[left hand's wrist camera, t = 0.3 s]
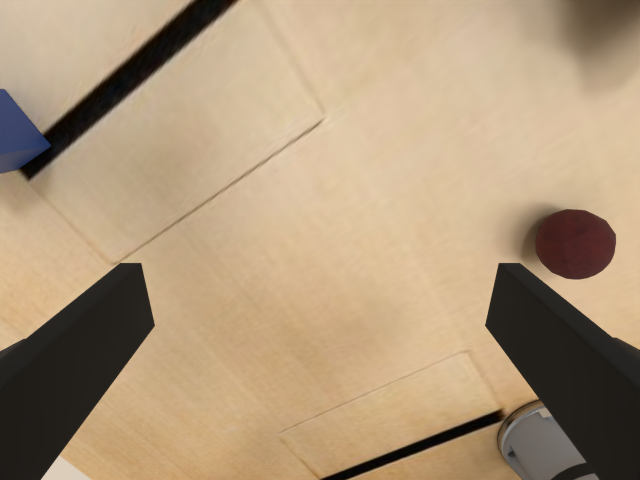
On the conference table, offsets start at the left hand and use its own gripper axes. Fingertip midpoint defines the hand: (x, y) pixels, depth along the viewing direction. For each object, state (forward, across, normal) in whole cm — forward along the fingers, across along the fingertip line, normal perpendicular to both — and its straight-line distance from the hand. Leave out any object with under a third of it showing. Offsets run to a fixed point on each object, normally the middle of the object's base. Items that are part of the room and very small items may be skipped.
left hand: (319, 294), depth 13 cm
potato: (+27, +28, -8) cm, 40 cm away
